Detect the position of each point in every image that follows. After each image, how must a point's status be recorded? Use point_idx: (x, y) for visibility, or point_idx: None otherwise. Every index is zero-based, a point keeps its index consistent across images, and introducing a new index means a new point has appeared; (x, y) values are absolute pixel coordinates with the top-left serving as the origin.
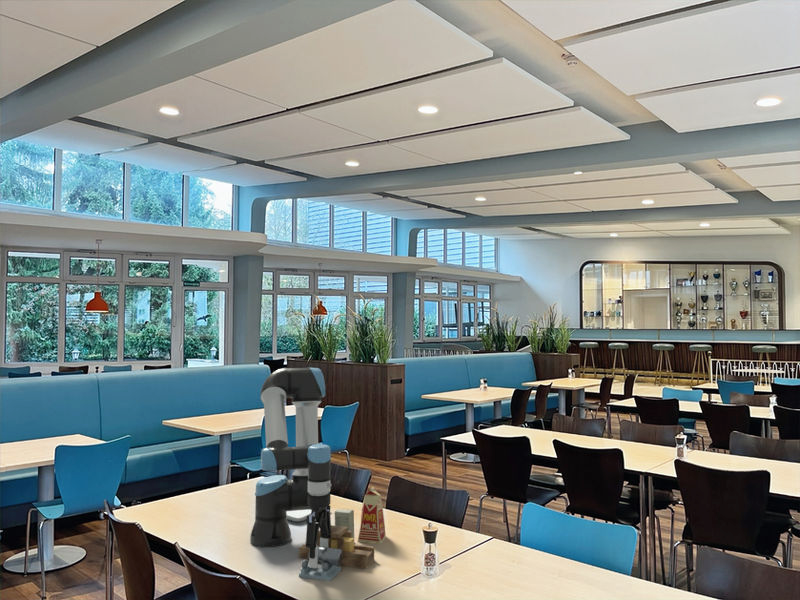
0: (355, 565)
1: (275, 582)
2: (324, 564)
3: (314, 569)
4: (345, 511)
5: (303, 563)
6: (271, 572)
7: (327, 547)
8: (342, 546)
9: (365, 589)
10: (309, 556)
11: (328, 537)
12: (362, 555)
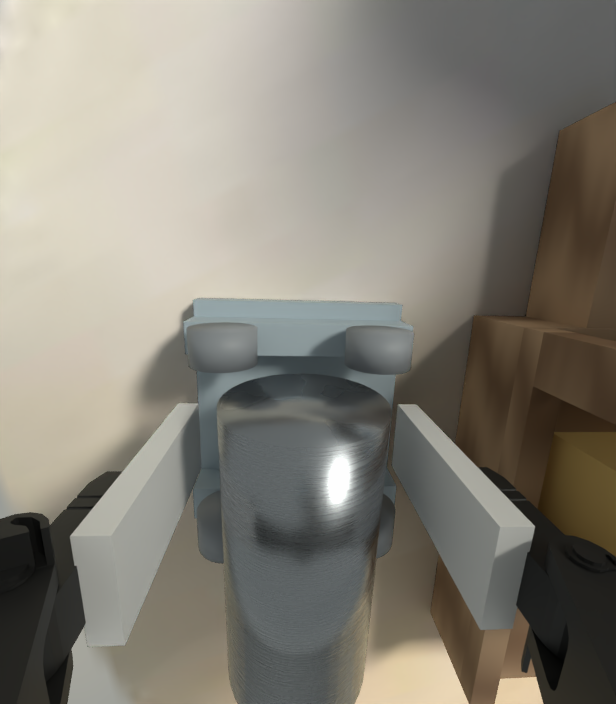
0: (443, 568)
1: (38, 165)
2: (202, 539)
3: None
4: None
5: (188, 348)
6: (203, 27)
7: (326, 622)
8: None
9: (175, 691)
10: (85, 487)
11: (524, 648)
12: (470, 678)
